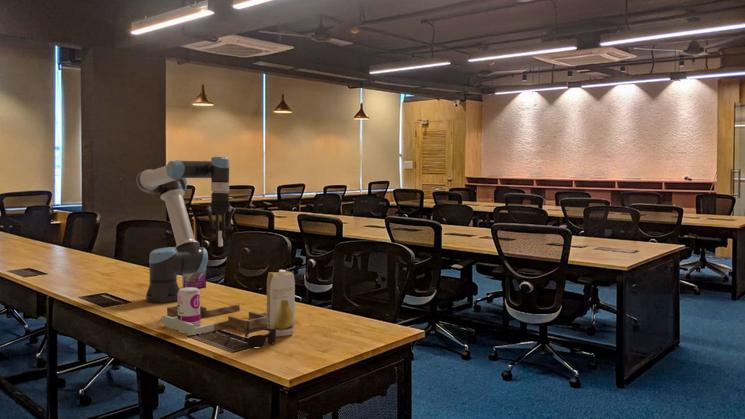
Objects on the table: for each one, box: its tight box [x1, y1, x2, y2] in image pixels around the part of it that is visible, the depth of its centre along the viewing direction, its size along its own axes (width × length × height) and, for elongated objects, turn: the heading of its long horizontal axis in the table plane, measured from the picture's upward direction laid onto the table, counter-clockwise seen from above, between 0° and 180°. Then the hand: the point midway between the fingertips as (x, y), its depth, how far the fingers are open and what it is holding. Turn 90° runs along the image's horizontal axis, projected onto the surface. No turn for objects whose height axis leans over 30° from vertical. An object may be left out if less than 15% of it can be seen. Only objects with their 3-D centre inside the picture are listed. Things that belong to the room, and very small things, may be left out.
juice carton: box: [266, 269, 296, 338], centre depth 222 cm, size 9×8×24 cm
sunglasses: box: [227, 328, 277, 349], centre depth 212 cm, size 14×16×5 cm
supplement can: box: [176, 287, 201, 327], centre depth 229 cm, size 8×8×15 cm
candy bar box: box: [181, 267, 207, 289], centre depth 304 cm, size 11×5×16 cm, turn 115°
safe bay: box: [161, 314, 215, 336], centre depth 229 cm, size 9×20×4 cm, turn 49°
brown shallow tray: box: [166, 304, 267, 333], centre depth 242 cm, size 27×41×4 cm, turn 49°
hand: (220, 245), depth 265 cm, fingers closed
